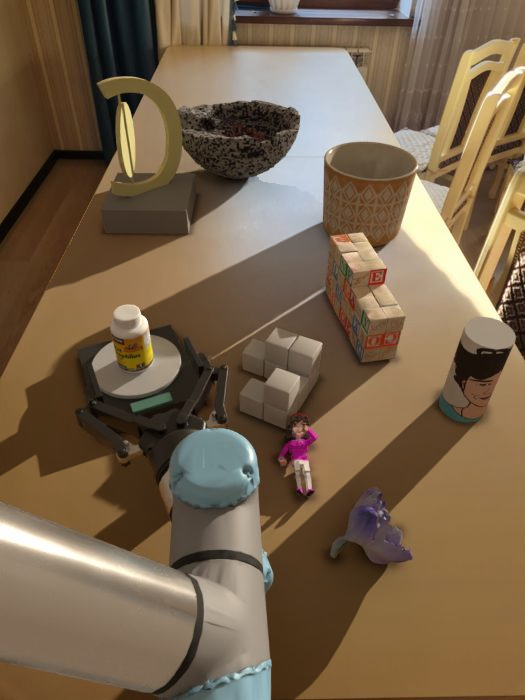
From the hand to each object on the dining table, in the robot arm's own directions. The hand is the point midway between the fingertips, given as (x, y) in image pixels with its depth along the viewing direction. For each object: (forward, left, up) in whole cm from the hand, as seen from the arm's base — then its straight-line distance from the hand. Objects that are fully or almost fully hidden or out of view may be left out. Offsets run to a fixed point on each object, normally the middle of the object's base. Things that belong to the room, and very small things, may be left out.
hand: (139, 357), depth 76 cm
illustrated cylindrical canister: (+44, -19, -11) cm, 49 cm away
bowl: (+44, +72, -11) cm, 85 cm away
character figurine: (+16, -18, -11) cm, 27 cm away
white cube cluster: (+18, -4, -11) cm, 22 cm away
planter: (+58, +33, -11) cm, 68 cm away
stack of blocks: (+40, +5, -11) cm, 42 cm away
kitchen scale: (0, +6, -10) cm, 12 cm away
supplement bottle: (0, +7, -7) cm, 10 cm away
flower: (+18, -33, -11) cm, 39 cm away
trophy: (+17, +59, -11) cm, 62 cm away
